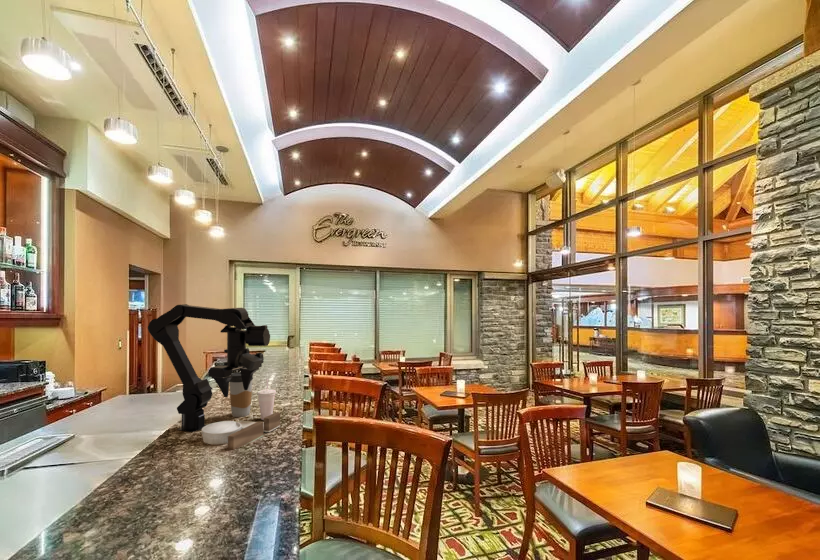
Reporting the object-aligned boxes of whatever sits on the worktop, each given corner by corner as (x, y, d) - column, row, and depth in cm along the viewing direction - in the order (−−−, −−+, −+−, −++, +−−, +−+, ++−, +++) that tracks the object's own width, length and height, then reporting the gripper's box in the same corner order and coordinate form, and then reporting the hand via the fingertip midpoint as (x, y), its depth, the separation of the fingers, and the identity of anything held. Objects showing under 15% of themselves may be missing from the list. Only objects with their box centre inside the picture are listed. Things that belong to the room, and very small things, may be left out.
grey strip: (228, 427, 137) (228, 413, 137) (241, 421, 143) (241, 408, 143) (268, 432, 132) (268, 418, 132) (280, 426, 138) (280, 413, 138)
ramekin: (244, 446, 123) (244, 429, 124) (202, 454, 118) (202, 436, 118) (238, 434, 133) (238, 418, 133) (199, 441, 127) (200, 424, 127)
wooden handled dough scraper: (189, 445, 121) (189, 430, 121) (221, 430, 133) (222, 417, 134) (233, 452, 116) (233, 436, 116) (263, 436, 129) (263, 422, 129)
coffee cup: (247, 409, 157) (247, 370, 157) (256, 414, 151) (256, 373, 151) (224, 414, 151) (225, 373, 151) (233, 419, 145) (234, 377, 146)
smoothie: (278, 415, 149) (279, 377, 150) (271, 421, 143) (271, 381, 143) (262, 415, 150) (262, 377, 150) (253, 421, 144) (253, 381, 144)
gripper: (236, 351, 124) (236, 403, 124) (274, 343, 142) (274, 388, 141) (207, 349, 127) (206, 400, 127) (248, 341, 145) (247, 386, 145)
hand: (236, 393), depth 135 cm, fingers open, 9 cm apart
